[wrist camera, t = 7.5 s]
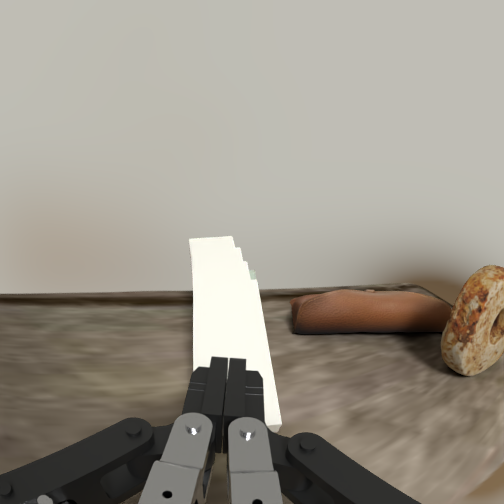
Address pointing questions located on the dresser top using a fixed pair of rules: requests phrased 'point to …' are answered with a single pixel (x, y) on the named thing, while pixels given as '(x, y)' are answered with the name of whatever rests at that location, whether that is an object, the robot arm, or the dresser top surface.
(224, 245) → the domino
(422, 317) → the sunglasses case
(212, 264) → the domino
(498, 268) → the stone disc
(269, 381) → the domino
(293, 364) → the dresser top surface
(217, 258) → the domino
